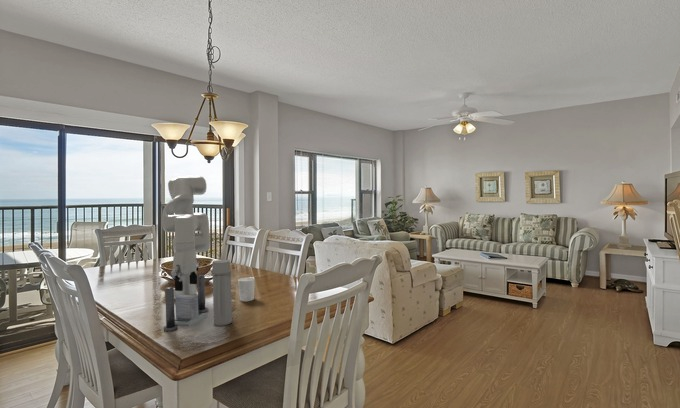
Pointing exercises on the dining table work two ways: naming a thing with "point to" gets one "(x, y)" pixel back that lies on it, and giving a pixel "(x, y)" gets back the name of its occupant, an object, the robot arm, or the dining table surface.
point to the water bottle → (222, 292)
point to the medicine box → (186, 306)
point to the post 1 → (170, 310)
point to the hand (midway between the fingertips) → (186, 287)
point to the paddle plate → (189, 320)
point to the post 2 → (201, 294)
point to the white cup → (246, 288)
